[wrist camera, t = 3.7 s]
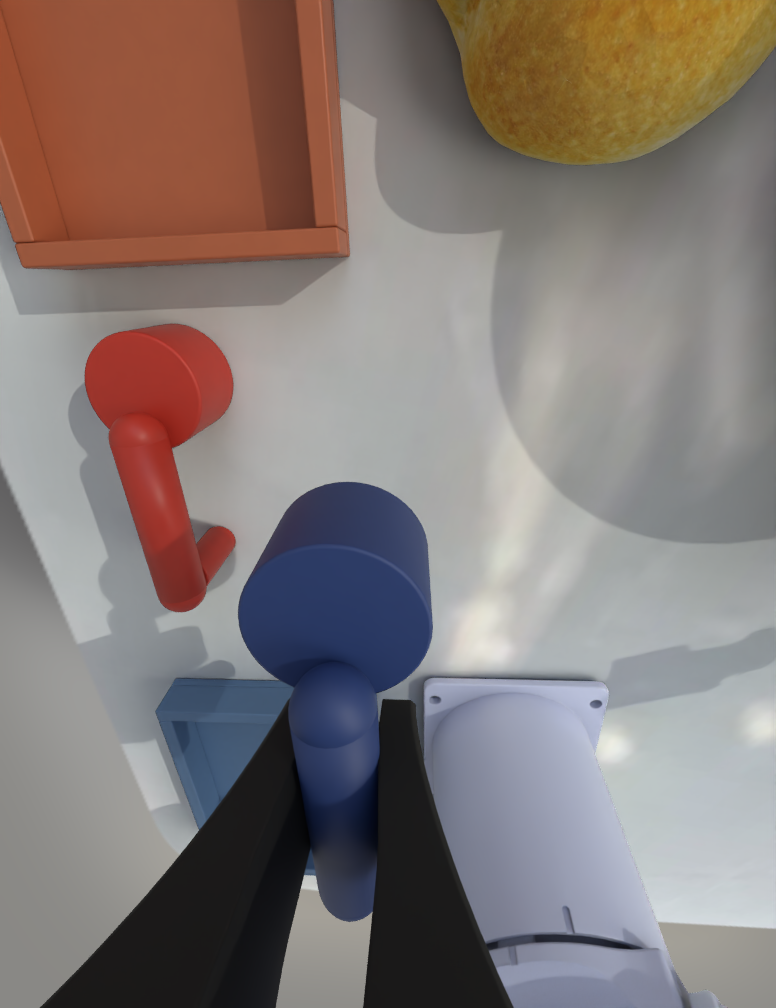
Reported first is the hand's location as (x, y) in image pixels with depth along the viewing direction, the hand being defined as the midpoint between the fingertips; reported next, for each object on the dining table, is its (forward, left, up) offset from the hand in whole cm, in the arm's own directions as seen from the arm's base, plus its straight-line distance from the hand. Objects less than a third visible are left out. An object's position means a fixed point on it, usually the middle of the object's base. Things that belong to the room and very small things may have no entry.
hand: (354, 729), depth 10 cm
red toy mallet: (+4, +6, -8) cm, 11 cm away
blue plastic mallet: (+1, 0, -2) cm, 2 cm away
